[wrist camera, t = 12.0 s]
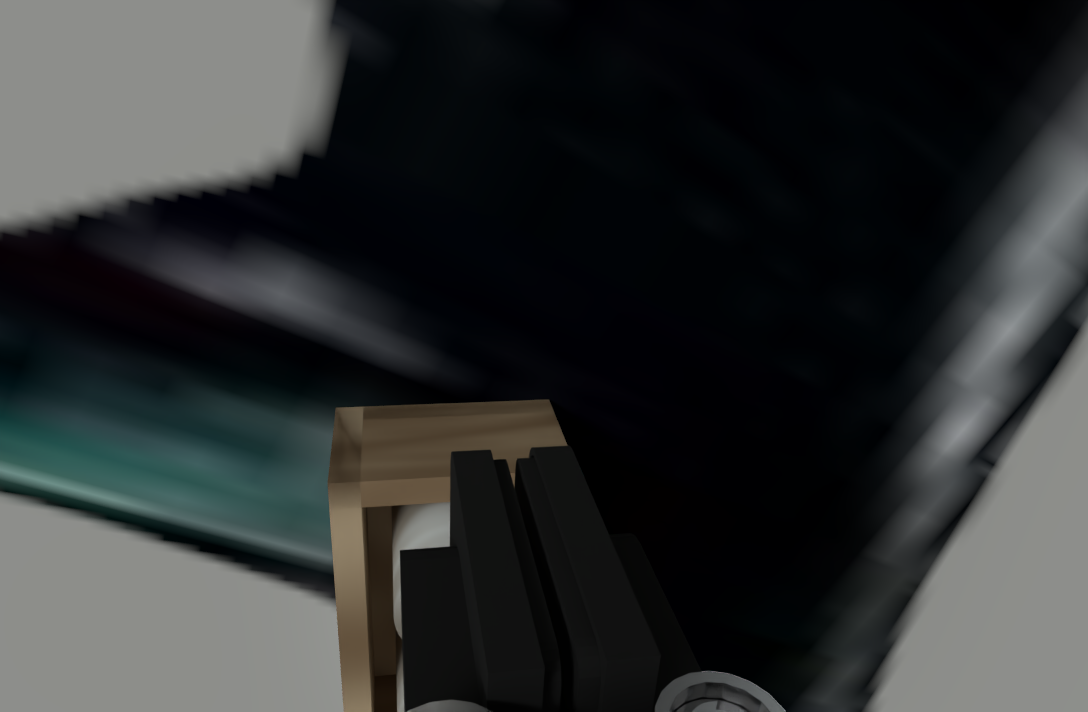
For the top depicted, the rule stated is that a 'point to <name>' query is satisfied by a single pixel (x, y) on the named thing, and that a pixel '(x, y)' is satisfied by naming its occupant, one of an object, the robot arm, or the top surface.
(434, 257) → the top surface
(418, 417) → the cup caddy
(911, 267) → the top surface
